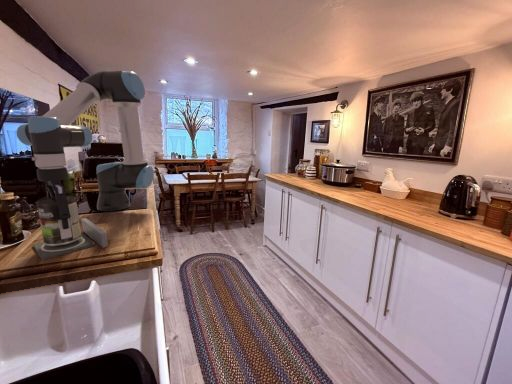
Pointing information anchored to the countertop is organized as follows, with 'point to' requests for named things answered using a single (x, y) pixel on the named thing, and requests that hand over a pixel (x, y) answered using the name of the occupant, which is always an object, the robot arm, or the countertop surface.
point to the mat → (62, 247)
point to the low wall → (94, 232)
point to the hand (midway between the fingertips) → (62, 233)
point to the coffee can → (51, 225)
